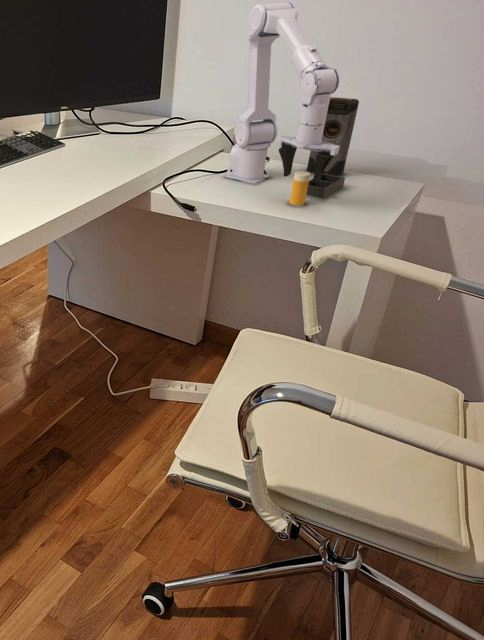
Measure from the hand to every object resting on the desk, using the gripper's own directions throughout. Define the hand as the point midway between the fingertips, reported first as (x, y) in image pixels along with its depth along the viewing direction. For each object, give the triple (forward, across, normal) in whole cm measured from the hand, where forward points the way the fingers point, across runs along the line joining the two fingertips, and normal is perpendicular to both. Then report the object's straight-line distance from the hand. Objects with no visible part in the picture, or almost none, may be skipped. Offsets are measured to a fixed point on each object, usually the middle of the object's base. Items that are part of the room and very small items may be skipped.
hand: (301, 178), depth 166 cm
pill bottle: (+7, 0, 0) cm, 7 cm away
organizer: (+7, +1, +12) cm, 14 cm away
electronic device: (+7, -6, +27) cm, 28 cm away
